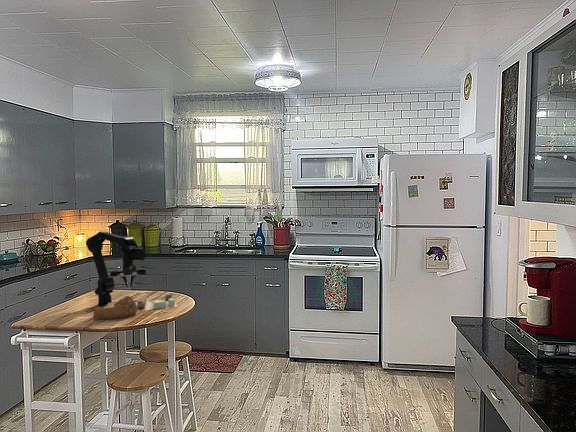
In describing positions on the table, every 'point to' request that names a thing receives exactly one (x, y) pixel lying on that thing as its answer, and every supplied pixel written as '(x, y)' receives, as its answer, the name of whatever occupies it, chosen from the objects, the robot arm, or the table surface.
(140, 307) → the hinged leg
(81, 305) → the table surface
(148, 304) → the board
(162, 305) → the socket blocks
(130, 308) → the tan rounded lump
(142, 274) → the robot arm
